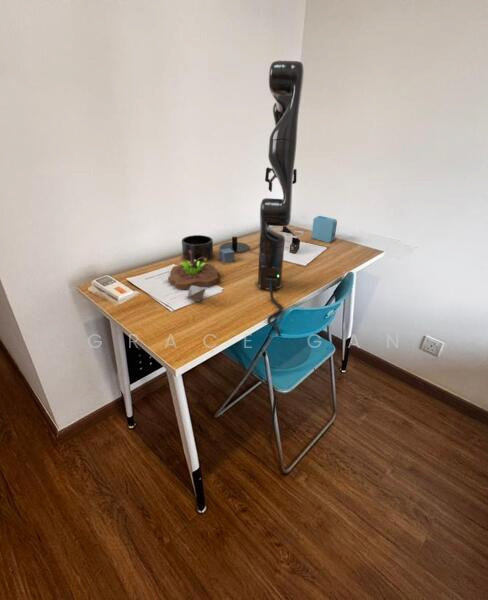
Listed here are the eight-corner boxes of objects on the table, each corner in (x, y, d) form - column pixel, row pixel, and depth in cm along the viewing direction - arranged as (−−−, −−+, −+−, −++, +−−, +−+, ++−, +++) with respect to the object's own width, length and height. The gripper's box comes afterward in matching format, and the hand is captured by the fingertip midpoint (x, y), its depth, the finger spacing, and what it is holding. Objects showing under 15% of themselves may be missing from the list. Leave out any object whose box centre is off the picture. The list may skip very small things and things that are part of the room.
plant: (213, 265, 141) (212, 241, 136) (223, 285, 125) (222, 258, 120) (166, 270, 136) (163, 245, 130) (170, 291, 120) (167, 263, 114)
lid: (246, 255, 153) (246, 243, 150) (216, 252, 155) (216, 240, 152) (251, 245, 166) (251, 233, 163) (224, 243, 168) (223, 231, 165)
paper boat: (182, 290, 118) (204, 280, 121) (190, 306, 119) (212, 295, 121) (184, 287, 107) (209, 276, 109) (193, 304, 107) (217, 293, 110)
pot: (208, 264, 142) (207, 246, 138) (178, 261, 144) (177, 243, 140) (216, 253, 154) (216, 236, 150) (188, 251, 156) (187, 234, 152)
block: (234, 262, 146) (234, 251, 143) (224, 264, 144) (224, 253, 141) (229, 258, 150) (229, 248, 147) (219, 260, 147) (219, 249, 145)
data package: (334, 241, 176) (337, 219, 170) (330, 243, 173) (333, 221, 167) (315, 236, 182) (317, 215, 176) (311, 238, 179) (313, 216, 173)
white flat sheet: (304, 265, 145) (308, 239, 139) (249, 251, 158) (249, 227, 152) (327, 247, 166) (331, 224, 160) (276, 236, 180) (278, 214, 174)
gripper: (265, 154, 140) (263, 192, 148) (298, 155, 138) (294, 194, 146) (267, 152, 147) (266, 189, 154) (299, 154, 145) (295, 191, 152)
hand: (279, 192), depth 150 cm, fingers open, 8 cm apart
